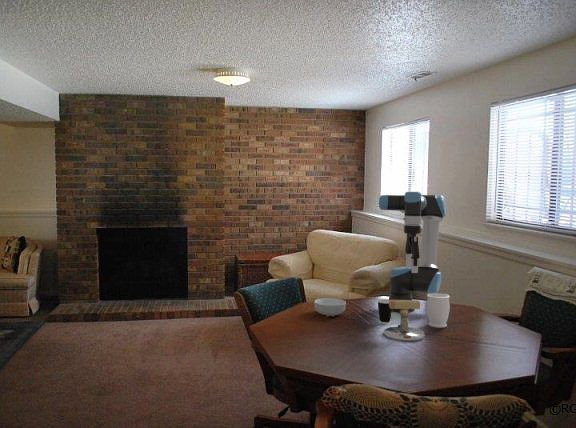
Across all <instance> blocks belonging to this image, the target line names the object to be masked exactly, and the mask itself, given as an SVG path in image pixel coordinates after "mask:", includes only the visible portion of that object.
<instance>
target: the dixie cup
mask: <svg viewBox="0 0 576 428" xmlns="http://www.w3.org/2000/svg"><path fill="white" fill-rule="evenodd" d="M376 301H377V307H378V308H377V309H378V310H377V311H378V321H379V323H380V324H382V325H389V324H390V323H391V321H392V312H393V311H392V309H390V307H389V298H388V299H387V298H379V299H377V300H376Z"/></svg>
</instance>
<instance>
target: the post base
mask: <svg viewBox="0 0 576 428" xmlns="http://www.w3.org/2000/svg"><path fill="white" fill-rule="evenodd" d="M399 320H400V321H399V322H400V323H399V324H397V326H390V327H386V328H384V329H383V337H385V338H387V339H389V340H391V341H395V342H404V343H405V342H406V343H414V342H421V341H423V340H424V339H425V332H424V331H423V330H421V329H419V328H415V327H410V326H408V331H405V330H403V320H408V321H409V316H408V317H401V316H400V319H399Z"/></svg>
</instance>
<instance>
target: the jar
mask: <svg viewBox="0 0 576 428" xmlns="http://www.w3.org/2000/svg"><path fill="white" fill-rule="evenodd" d="M426 294H427V295H426V297H427V300H426V312H427V320H428V321H429V322H428V326H429V327H432V328H437V329H438V328H439V329H442V328H447V326H448V325H447V322H448V319H449V316H450V315H449V314H450V308H451V307H450V301H449V300H450V299H451V298H450V297H451V296H450V295H449V294H447V293H439V292H437V293H429V294H428V293H426Z"/></svg>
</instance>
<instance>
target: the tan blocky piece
mask: <svg viewBox="0 0 576 428" xmlns="http://www.w3.org/2000/svg"><path fill="white" fill-rule="evenodd" d="M389 307H390V309H401V312H400V317H408V318H409V312H408V309H415V310H420V309H421V302H420V301H419V300H416V299H415V300H414V299H413V300H389ZM408 327H409V319H408V320H403V330H405V331H408Z"/></svg>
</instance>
